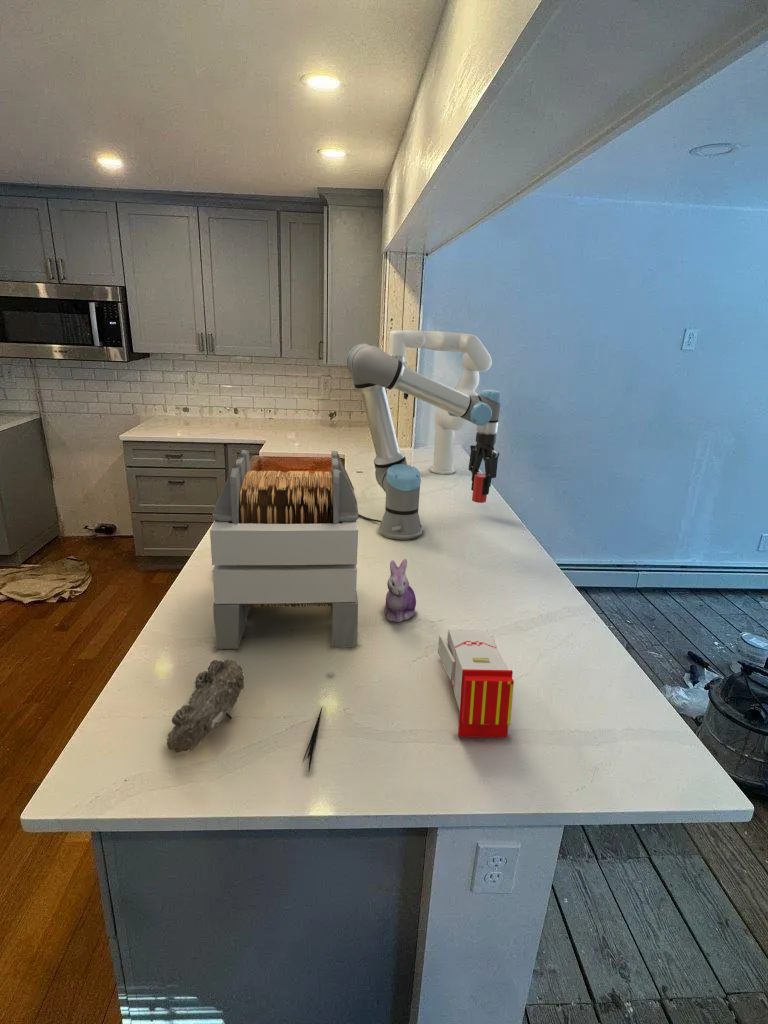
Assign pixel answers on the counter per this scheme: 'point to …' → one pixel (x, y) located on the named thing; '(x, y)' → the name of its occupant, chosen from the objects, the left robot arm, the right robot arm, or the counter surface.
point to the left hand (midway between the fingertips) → (479, 492)
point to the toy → (478, 682)
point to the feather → (313, 740)
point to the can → (478, 488)
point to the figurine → (399, 594)
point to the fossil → (206, 705)
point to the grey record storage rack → (285, 547)
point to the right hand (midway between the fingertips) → (395, 398)
